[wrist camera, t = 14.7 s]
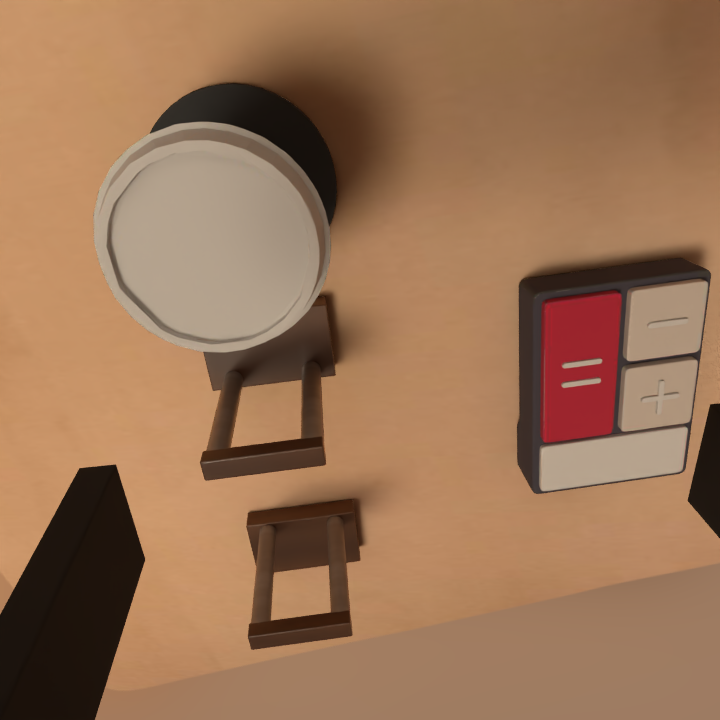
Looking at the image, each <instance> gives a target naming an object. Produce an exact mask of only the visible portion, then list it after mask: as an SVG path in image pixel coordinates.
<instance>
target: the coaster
mask: <svg viewBox="0 0 720 720" xmlns="http://www.w3.org/2000/svg"><path fill="white" fill-rule="evenodd" d="M192 122H214V123H223V124H229V125H233V126H236V127H239V128H242V129H245V130H248V131H250V132H252V133H255V134H257V135H260V136H262V137H264V138H266V139H267V140H269V141H270V142H272V143H273V144H274V145H276V146H277V147H279V148H280V149H281V150H283V151H284V152H286V153H287V154H288V155H289V156H290V157H291V158H292V159H293V160H294V161H295V162H296V163H297V164H298V165H299V166H300V167H301V168H302V170H303V171H304V172H305V173H306V175H307V176H308V178H309V179H310V181H311V182H312V183H313V185H314V187H315V189H316V190H317V192H318V194H319V197H320V199H321V201H322V204H323V206H324V209H325V212H326V216H327V220H328V224H329V227H330V224H331V221H332V218H333V215H334V210H335V205H336V194H337V187H336V176H335V170H334V165H333V162H332V158H331V155H330V152H329V150H328V148H327V145H326V143H325V141H324V139H323V138H322V136H321V134H320V133H319V131H318V129H317V128H316V127H315V125H314V124H313V123H312V122H311V121H310V119H309V118H308V117H307V116H306V115H305V114H304V113H303V112H302V111H301V110H300V109H299V108H297V107H296V106H295V105H293V104H292V103H291V102H289V101H288V100H286V99H285V98H283V97H281V96H279V95H277V94H276V93H273V92H271V91H268V90H266V89H263V88H260V87H256V86H251V85H246V84H236V83H232V84H218V85H213V86H208V87H205V88H202V89H199V90H196V91H194V92H192V93H190V94H188V95H186V96H184V97H182V98H181V99H179V100H178V101H177V102H175V103H174V104H173V105H171V106H170V107H169V108H168V109H167V110H166V111H165V112H164V113H163V114H162V115H161V117H160V118H159V119H158V121H157V122H156V123H155V125H154V126H153V128H152V130H151V132H150V134H151V133H154V132H156V131H159V130H162V129H164V128H167V127H170V126H172V125H175V124H182V123H192Z"/></svg>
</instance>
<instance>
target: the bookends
mask: <svg viewBox="0 0 720 720" xmlns="http://www.w3.org/2000/svg"><path fill="white" fill-rule="evenodd" d="M204 356H205V360H206V365H207V369H208V373H209V377H210V381H211V385H212V389H213V391H215V390H221V393H220V397H219V401H218V405H217V409H216V413H215V417H214V422H213V426H212V430H211V434H210V438H209V442H208V446H207V450H206V451H204V452H203V453H202V457H201V461H200V464H201V468H202V472H203V475H204V479H205V480H206V481H207V480H215V479H222V478H230V477H238V476H245V475H253V474H261V473H269V472H276V471H284V470H292V469H300V468H307V467H315V466H323V465H326V454H325V447H324V429H323V408H322V387H321V377H327V376H335V375H336V374H335V364H334V356H333V349H332V341H331V334H330V326H329V319H328V312H327V304H326V297H325V296H323V297H317V298H316V300H315V301H314V303H313V304H312V306H311V307H310V309H309V311H308V312H307V313H306V314H305V315H304V316H303V317H302V318H301V319H300V320H299V321H298V322H297V323H296V324H295V325H293V326H292V327H290V328H289V329H288V330H286V331H285V332H283V333H282V334H280V335H279V336H277V337H275V338H272V339H270V340H268V341H266V342H264V343H262V344H259V345H256V346H253V347H250V348H248V349H245V350H238V351H231V352H204ZM295 380H302V410H301V439H295V440H288V441H280V442H272V443H264V444H256V445H249V446H241V447H233V448H231V443H232V438H233V432H234V427H235V422H236V416H237V411H238V406H239V400H240V395H241V390H242V387H247V386H255V385H263V384H271V383H279V382H287V381H295ZM246 527H247V531H248V535H249V539H250V543H251V547H252V551H253V555H254V559H255V563H256V576H255V587H254V597H253V608H252V619H251V623H250V624H249V631H248V639H249V643H250V646H251V649H252V650H254V649H261V648H268V647H275V646H283V645H290V644H297V643H305V642H312V641H319V640H327V639H334V638H341V637H348V636H352V623H351V615H350V603H349V590H348V578H347V565H346V563H348V562H356V561H360V551H359V543H358V536H357V528H356V521H355V513H354V506H353V500H352V499H351V500H344V501H336V502H328V503H321V504H313V505H305V506H298V507H290V508H282V509H275V510H267V511H260V512H252V513H248V518H247V526H246ZM326 565H329V580H330V602H331V613H324V614H317V615H309V616H302V617H295V618H287V619H280V620H273V621H271V608H272V591H273V575H274V572H281V571H288V570H296V569H303V568H311V567H318V566H326Z"/></svg>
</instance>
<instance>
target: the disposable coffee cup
mask: <svg viewBox="0 0 720 720" xmlns="http://www.w3.org/2000/svg"><path fill="white" fill-rule="evenodd" d="M93 219H94V243H95V247H96V252H97V256H98V260H99V264H100V266H101V269H102V271H103V274H104V276H105V278H106V281H107V283H108V285H109V287H110V289H111V291H112V293H113V294H114V296H115V298H116V299H117V301H118V302H119V303H120V304H121V305H122V307H123V308H124V309H125V310H126V311H127V313H128V314H129V315H130V316H131V317H132V318H133V319H134V320H136V321H137V322H138V323H139V324H140V325H142V326H143V327H144V328H145V329H146V330H148V331H149V332H151V333H153V334H155V335H156V336H158V337H160V338H161V339H163V340H165V341H168V342H170V343H172V344H175V345H177V346H181V347H185V348H188V349H192V350H196V351H200V352H231V351H238V350H245V349H248V348H250V347H253V346H256V345H259V344H262V343H264V342H266V341H268V340H270V339H272V338H275V337H277V336H279V335H280V334H282V333H283V332H285V331H286V330H288V329H289V328H290V327H292V326H293V325H295V324H296V323H297V322H298V321H299V320H300V319H301V318H302V317H303V316H304V315H305V314H306V313H307V312H308V311H309V309H310V307H311V306H312V304H313V303H314V301H315V300H316V298H317V297H318V295H319V293H320V291H321V289H322V286H323V284H324V282H325V279H326V275H327V271H328V267H329V263H330V251H331V241H330V228H329V224H328V220H327V216H326V212H325V209H324V206H323V204H322V201H321V199H320V197H319V194H318V192H317V190H316V189H315V187H314V185H313V183H312V182H311V181H310V179H309V178H308V176H307V175H306V173H305V172H304V171H303V170H302V168H301V167H300V166H299V165H298V164H297V163H296V162H295V161H294V160H293V159H292V158H291V157H290V156H289V155H288V154H287V153H286V152H284V151H283V150H281V149H280V148H279V147H277V146H276V145H274V144H273V143H272V142H270V141H269V140H267V139H266V138H264V137H262V136H260V135H257V134H255V133H252V132H250V131H248V130H245V129H242V128H239V127H236V126H233V125H229V124H223V123H214V122H192V123H182V124H175V125H172V126H170V127H167V128H164V129H162V130H159V131H156V132H154V133H151V134H148V135H146V136H145V137H143V138H142V139H141V140H139V141H138V142H136V143H135V144H134V145H132V146H131V147H130V148H128V149H127V150H126V151H125V152H124V153H123V154H122V155H121V156H120V158H119V159H118V160H117V161H116V162H115V163H114V164H113V165H112V166H111V168H110V170H109V172H108V174H107V176H106V178H105V180H104V182H103V184H102V186H101V188H100V190H99V193H98V197H97V202H96V206H95V210H94V214H93Z"/></svg>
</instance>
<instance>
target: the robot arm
mask: <svg viewBox="0 0 720 720" xmlns="http://www.w3.org/2000/svg"><path fill="white" fill-rule="evenodd" d="M688 502H689V503H690V504H691V505H692V506H693V508H694V509H695V510H696V511H697V512H698V513H699V515H700V516H701V517H702V518H703V519H704V520H705V522H706V523H707V524H708V525H709V526H710V527H711V529H712V530H713V531H714V532H715V533H716V534H717V536H718V537H719V538H720V404H710V408H709V412H708V416H707V421H706V425H705V429H704V433H703V438H702V442H701V446H700V450H699V455H698V459H697V463H696V467H695V472H694V476H693V480H692V484H691V489H690V493H689V497H688ZM144 562H145V557H144V554H143V551H142V547H141V544H140V541H139V538H138V534H137V531H136V528H135V525H134V522H133V518H132V515H131V512H130V509H129V505H128V502H127V499H126V496H125V492H124V489H123V486H122V483H121V480H120V476H119V473H118V470H117V467H116V465H107V466H97V467H87V468H79V470H78V472H77V474H76V476H75V478H74V479H73V481H72V483H71V485H70V487H69V489H68V491H67V492H66V494H65V496H64V498H63V500H62V502H61V503H60V505H59V507H58V509H57V511H56V513H55V515H54V516H53V518H52V520H51V522H50V524H49V526H48V527H47V529H46V531H45V533H44V535H43V537H42V539H41V540H40V542H39V544H38V546H37V548H36V550H35V551H34V553H33V555H32V557H31V559H30V561H29V563H28V564H27V566H26V568H25V570H24V572H23V574H22V575H21V577H20V579H19V581H18V583H17V585H16V587H15V588H14V590H13V592H12V594H11V596H10V598H9V599H8V602H7V603H6V605H5V607H4V609H3V611H2V613H1V614H0V720H95V717H96V714H97V711H98V708H99V705H100V701H101V698H102V695H103V692H104V689H105V686H106V682H107V679H108V676H109V673H110V670H111V666H112V663H113V660H114V657H115V654H116V651H117V647H118V644H119V641H120V638H121V635H122V632H123V628H124V625H125V622H126V619H127V616H128V612H129V609H130V606H131V603H132V600H133V597H134V593H135V590H136V587H137V584H138V581H139V577H140V574H141V571H142V568H143V565H144Z"/></svg>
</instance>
